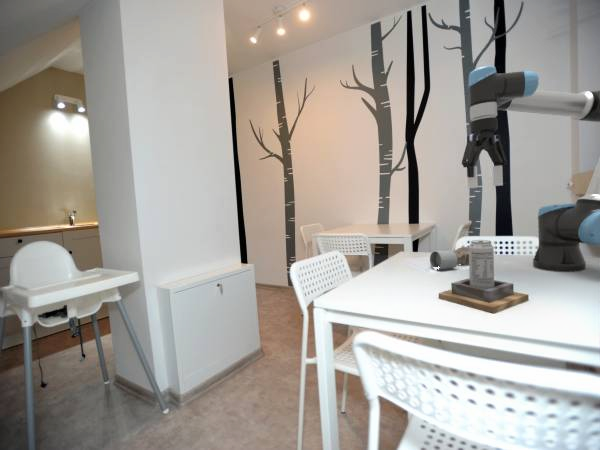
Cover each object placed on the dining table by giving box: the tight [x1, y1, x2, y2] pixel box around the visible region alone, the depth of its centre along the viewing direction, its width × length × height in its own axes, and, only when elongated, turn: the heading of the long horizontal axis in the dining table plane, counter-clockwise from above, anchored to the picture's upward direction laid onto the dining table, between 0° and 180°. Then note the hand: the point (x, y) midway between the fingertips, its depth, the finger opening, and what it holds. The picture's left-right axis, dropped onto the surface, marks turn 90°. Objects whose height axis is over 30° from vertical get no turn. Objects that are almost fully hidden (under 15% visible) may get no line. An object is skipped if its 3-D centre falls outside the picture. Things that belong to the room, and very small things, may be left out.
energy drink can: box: [468, 239, 495, 289], centre depth 91 cm, size 6×6×15 cm
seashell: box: [452, 246, 469, 265], centre depth 137 cm, size 14×9×10 cm
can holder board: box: [438, 277, 530, 314], centre depth 91 cm, size 16×16×4 cm
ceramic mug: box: [429, 250, 458, 271], centre depth 130 cm, size 11×8×8 cm
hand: (485, 186), depth 104 cm, fingers open, 13 cm apart
